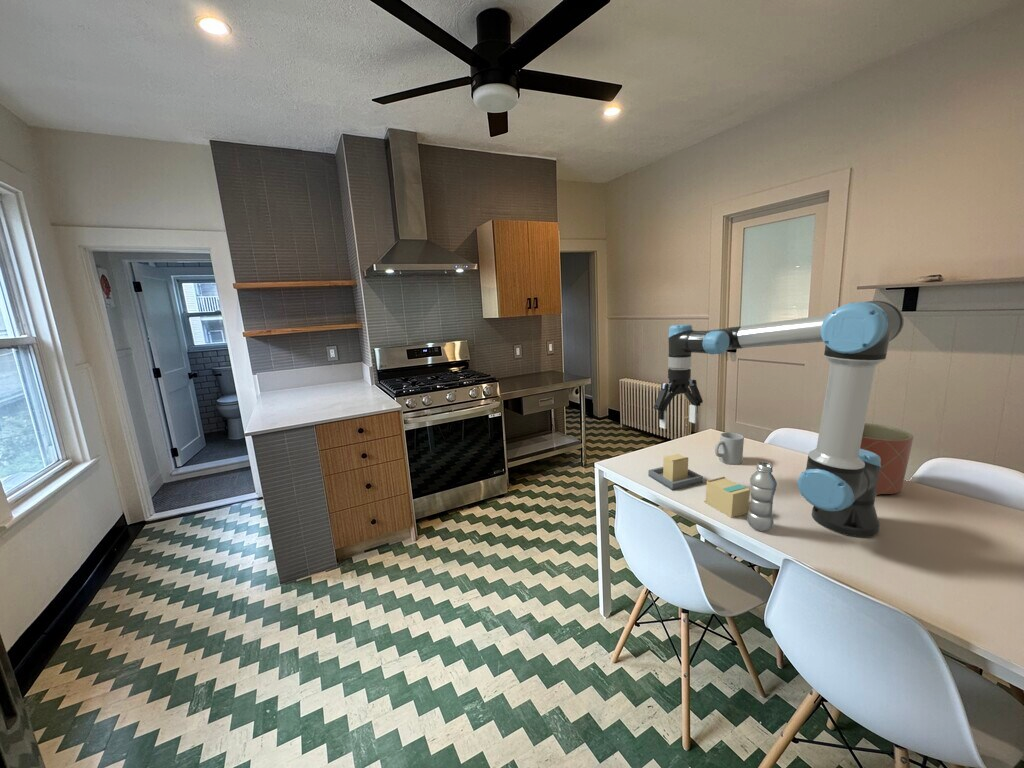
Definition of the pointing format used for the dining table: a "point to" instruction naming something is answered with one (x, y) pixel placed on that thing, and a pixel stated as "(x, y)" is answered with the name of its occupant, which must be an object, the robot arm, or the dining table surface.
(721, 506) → the tan teal-banded block
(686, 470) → the plain tan block
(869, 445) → the planter
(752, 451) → the dining table surface
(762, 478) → the plastic bottle
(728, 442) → the mug
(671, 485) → the tray
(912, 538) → the dining table surface
